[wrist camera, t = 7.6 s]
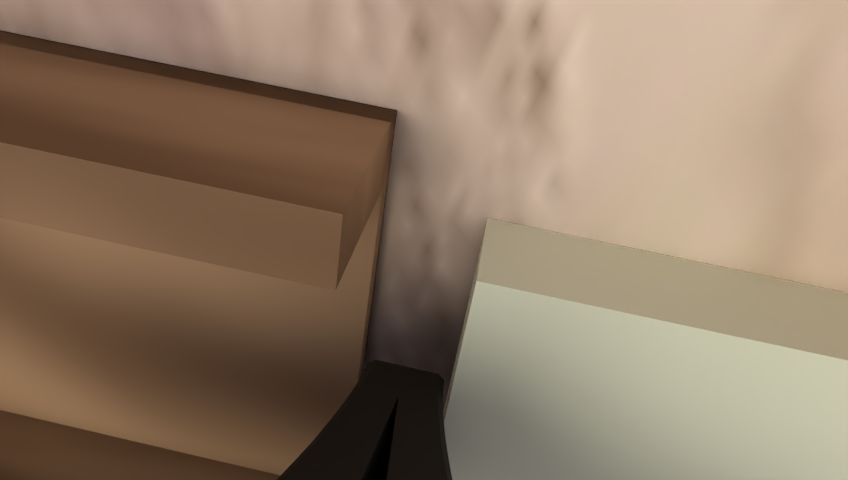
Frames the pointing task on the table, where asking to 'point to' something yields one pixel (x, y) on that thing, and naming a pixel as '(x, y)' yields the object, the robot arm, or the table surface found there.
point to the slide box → (177, 265)
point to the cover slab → (642, 368)
